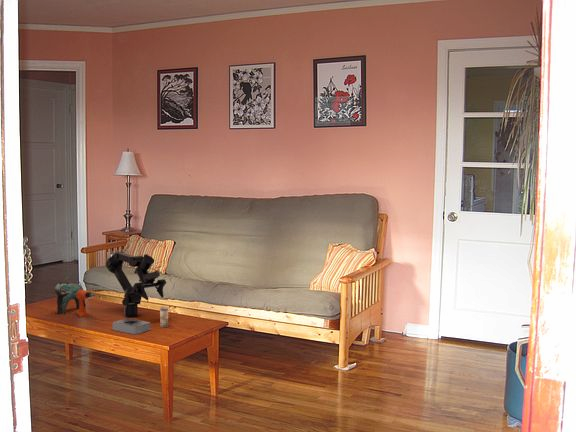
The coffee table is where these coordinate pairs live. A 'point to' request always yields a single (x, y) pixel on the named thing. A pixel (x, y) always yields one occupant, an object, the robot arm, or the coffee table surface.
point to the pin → (163, 316)
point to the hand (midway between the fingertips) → (155, 298)
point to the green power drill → (66, 295)
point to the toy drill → (83, 302)
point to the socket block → (131, 326)
